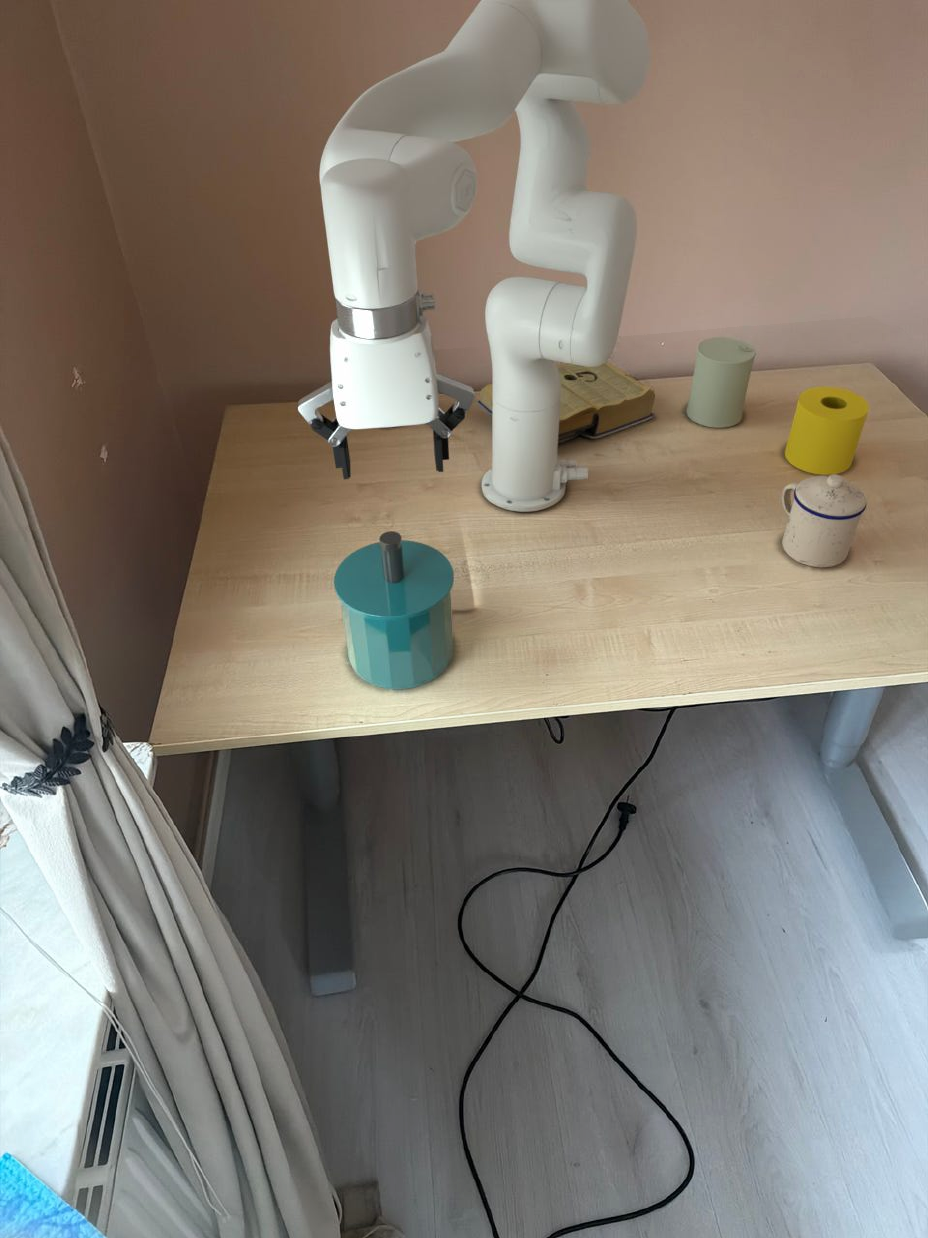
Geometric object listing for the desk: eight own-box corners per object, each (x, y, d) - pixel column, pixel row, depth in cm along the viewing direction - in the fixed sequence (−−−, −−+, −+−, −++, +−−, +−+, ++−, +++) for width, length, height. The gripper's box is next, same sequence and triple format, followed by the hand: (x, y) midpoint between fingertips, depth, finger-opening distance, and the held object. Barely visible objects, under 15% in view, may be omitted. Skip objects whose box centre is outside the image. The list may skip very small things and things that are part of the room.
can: (747, 427, 147) (762, 359, 139) (691, 428, 147) (703, 360, 139) (735, 399, 154) (749, 333, 146) (682, 400, 154) (692, 334, 146)
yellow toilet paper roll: (814, 480, 135) (830, 425, 129) (771, 449, 142) (784, 395, 136) (865, 465, 138) (883, 410, 132) (821, 434, 145) (836, 381, 139)
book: (595, 378, 160) (598, 347, 156) (655, 418, 150) (659, 386, 146) (476, 416, 151) (475, 384, 147) (530, 462, 141) (531, 428, 137)
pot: (447, 613, 115) (445, 542, 107) (456, 685, 106) (454, 612, 98) (349, 621, 114) (339, 550, 106) (349, 693, 105) (338, 621, 97)
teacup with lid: (863, 557, 122) (889, 485, 114) (812, 577, 119) (835, 505, 111) (800, 511, 130) (820, 441, 122) (751, 530, 127) (769, 459, 119)
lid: (448, 543, 108) (447, 497, 103) (459, 619, 98) (458, 572, 93) (335, 552, 107) (328, 506, 102) (334, 629, 97) (327, 582, 92)
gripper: (467, 287, 85) (471, 442, 97) (284, 299, 84) (311, 454, 96) (476, 322, 80) (479, 482, 91) (280, 336, 79) (309, 495, 91)
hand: (393, 468), depth 94 cm, fingers open, 9 cm apart
